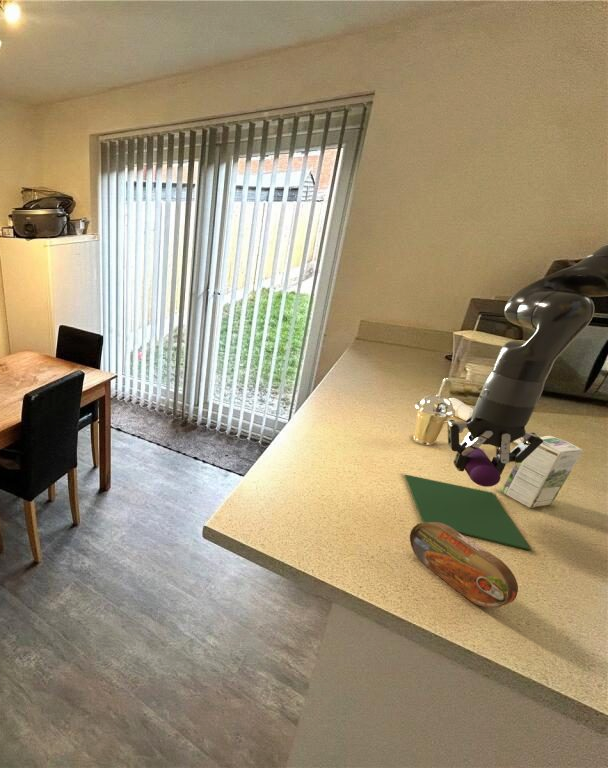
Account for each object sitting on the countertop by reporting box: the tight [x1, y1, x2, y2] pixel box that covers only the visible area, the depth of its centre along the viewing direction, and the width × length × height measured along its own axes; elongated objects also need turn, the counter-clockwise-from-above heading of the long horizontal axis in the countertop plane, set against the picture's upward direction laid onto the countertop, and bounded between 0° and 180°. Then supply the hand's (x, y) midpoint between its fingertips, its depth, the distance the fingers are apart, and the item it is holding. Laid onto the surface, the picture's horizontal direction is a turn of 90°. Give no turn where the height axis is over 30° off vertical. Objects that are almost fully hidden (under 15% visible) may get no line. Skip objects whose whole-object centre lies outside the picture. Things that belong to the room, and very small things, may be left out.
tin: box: [409, 522, 519, 609], centre depth 66 cm, size 15×3×8 cm, turn 13°
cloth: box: [404, 474, 531, 552], centre depth 83 cm, size 16×18×1 cm
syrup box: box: [501, 435, 584, 509], centre depth 83 cm, size 6×6×14 cm
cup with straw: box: [412, 377, 474, 446], centre depth 104 cm, size 8×9×20 cm
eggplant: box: [464, 447, 501, 488], centre depth 80 cm, size 4×13×4 cm, turn 154°
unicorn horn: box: [448, 397, 521, 445], centre depth 113 cm, size 5×24×5 cm, turn 4°
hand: (474, 471), depth 80 cm, fingers closed on eggplant, 4 cm apart
